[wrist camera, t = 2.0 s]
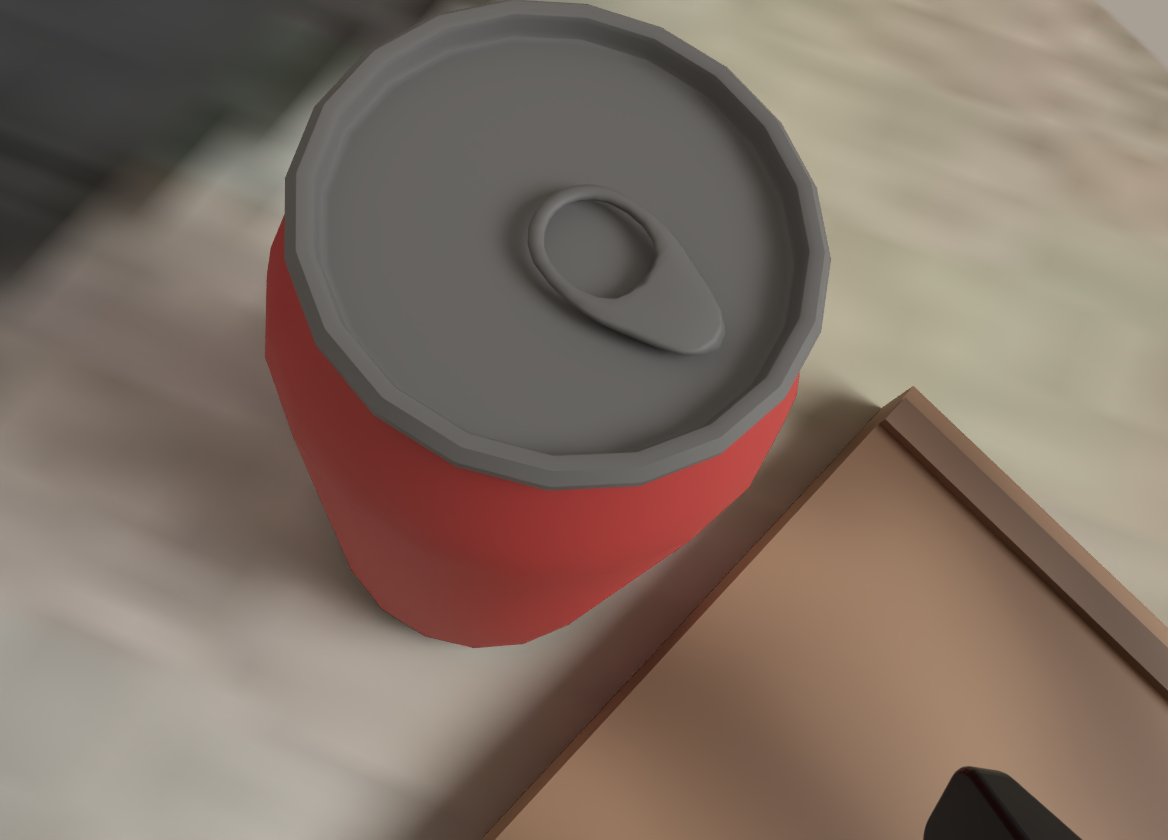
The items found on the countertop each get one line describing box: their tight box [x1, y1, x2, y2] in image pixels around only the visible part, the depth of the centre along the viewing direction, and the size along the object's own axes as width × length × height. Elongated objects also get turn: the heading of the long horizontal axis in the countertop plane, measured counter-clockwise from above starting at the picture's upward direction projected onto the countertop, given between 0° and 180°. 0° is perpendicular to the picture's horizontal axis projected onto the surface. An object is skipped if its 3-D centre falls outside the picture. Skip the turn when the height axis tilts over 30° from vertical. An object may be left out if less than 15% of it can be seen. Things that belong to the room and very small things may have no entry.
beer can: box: [265, 0, 831, 648], centre depth 14 cm, size 7×7×12 cm
